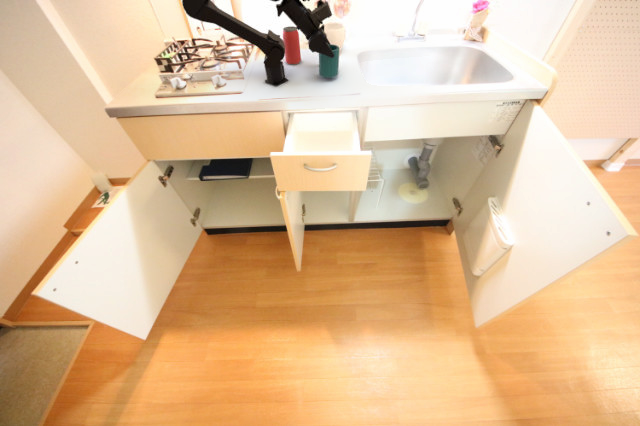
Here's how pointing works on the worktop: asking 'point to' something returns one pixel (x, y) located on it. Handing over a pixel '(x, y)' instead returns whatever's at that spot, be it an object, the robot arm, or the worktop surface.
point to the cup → (335, 33)
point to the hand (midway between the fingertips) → (332, 53)
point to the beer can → (291, 45)
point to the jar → (329, 63)
